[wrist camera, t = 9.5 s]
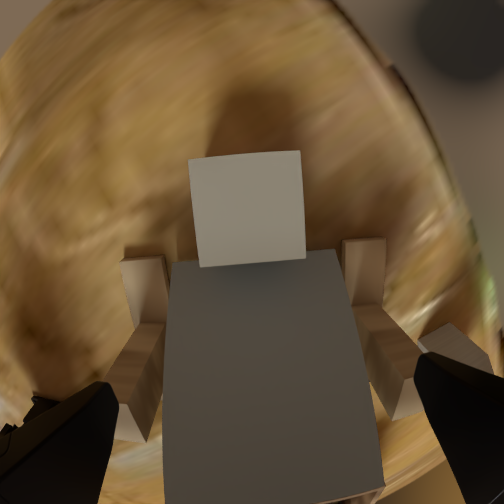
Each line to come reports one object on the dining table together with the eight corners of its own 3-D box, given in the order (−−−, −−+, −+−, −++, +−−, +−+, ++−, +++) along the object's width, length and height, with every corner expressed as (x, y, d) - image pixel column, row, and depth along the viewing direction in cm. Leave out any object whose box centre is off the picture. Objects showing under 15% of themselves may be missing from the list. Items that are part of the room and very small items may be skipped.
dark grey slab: (356, 478, 12) (384, 485, 9) (190, 493, 12) (165, 505, 9) (323, 288, 21) (334, 248, 17) (189, 299, 21) (172, 262, 17)
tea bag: (418, 389, 22) (464, 457, 13) (417, 339, 21) (481, 412, 11) (447, 373, 22) (497, 433, 13) (449, 321, 21) (518, 383, 11)
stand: (367, 376, 21) (409, 453, 13) (160, 394, 21) (133, 477, 13) (381, 236, 18) (465, 281, 10) (123, 258, 18) (49, 317, 10)
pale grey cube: (306, 258, 13) (300, 150, 12) (199, 267, 13) (188, 159, 12) (290, 236, 18) (284, 157, 17) (211, 243, 18) (203, 164, 17)
